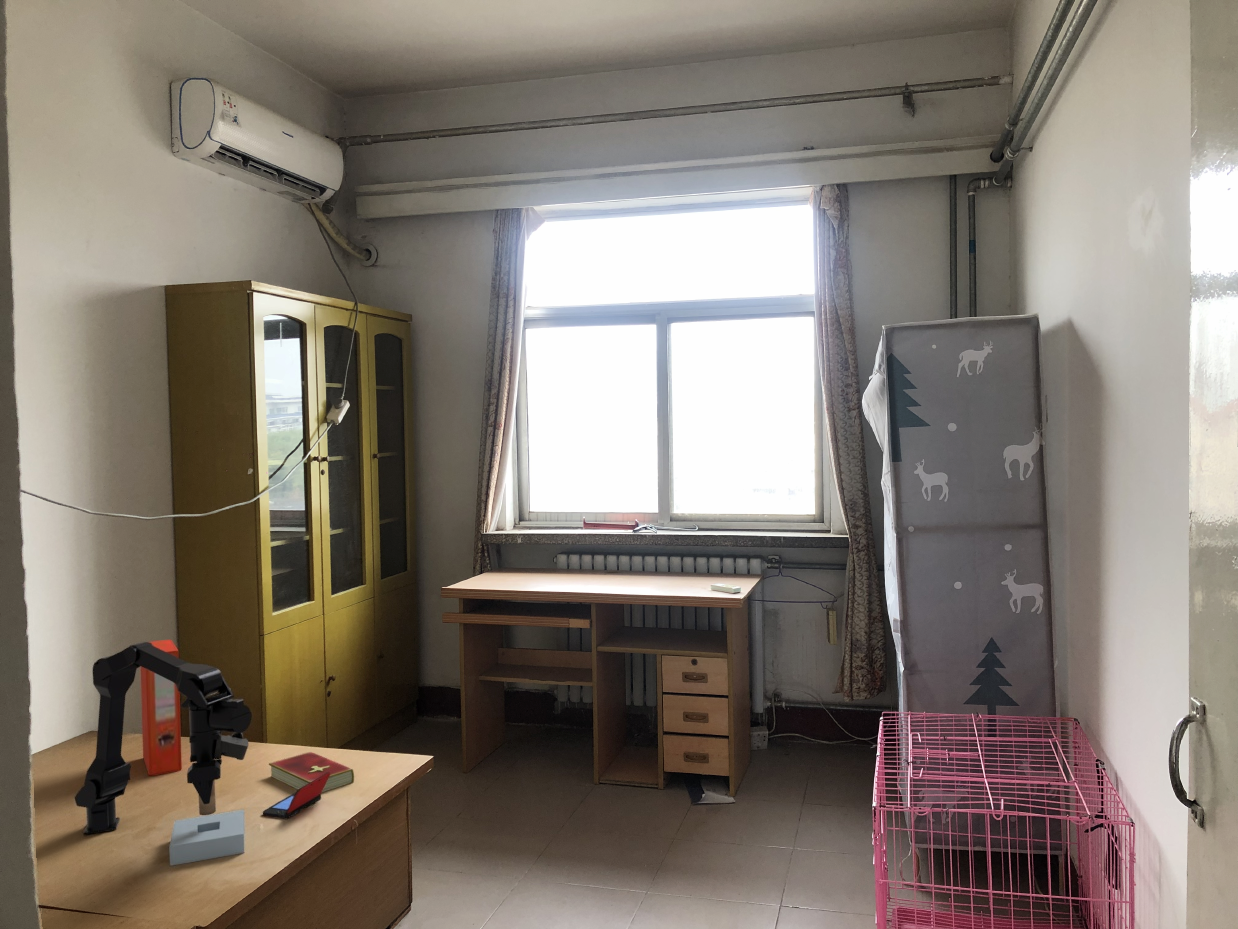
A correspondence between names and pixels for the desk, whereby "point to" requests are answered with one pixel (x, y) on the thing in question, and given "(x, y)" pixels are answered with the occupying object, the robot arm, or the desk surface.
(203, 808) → the peg
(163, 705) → the file binder
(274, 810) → the handheld game console
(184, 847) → the socket block
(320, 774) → the hardcover book
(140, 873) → the desk surface
